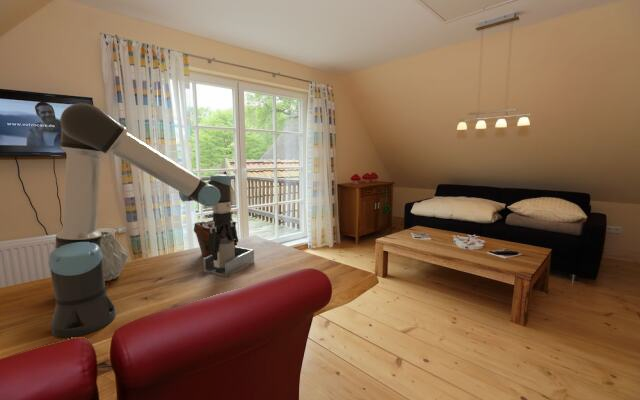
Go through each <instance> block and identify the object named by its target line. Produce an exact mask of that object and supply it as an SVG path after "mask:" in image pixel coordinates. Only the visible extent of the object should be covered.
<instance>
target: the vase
mask: <svg viewBox="0 0 640 400" xmlns="http://www.w3.org/2000/svg"><path fill="white" fill-rule="evenodd" d="M99 232H100V233H101V234H102V239H101V252H102V264H103V272H104V280H105V282H108V281H110V282H111V280H116V279H117V278H119V277H120V275H121V272H122V271H124V268H125V266H126V263H127V260H128V258H129V254H130V253H129V252H128V250H127V249H126V248H125V247H123V246H122V244H121V242H120V240H119V239H118V238H116V237H115V235H114V234H113V233H112V232H111V231H99Z"/></svg>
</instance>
